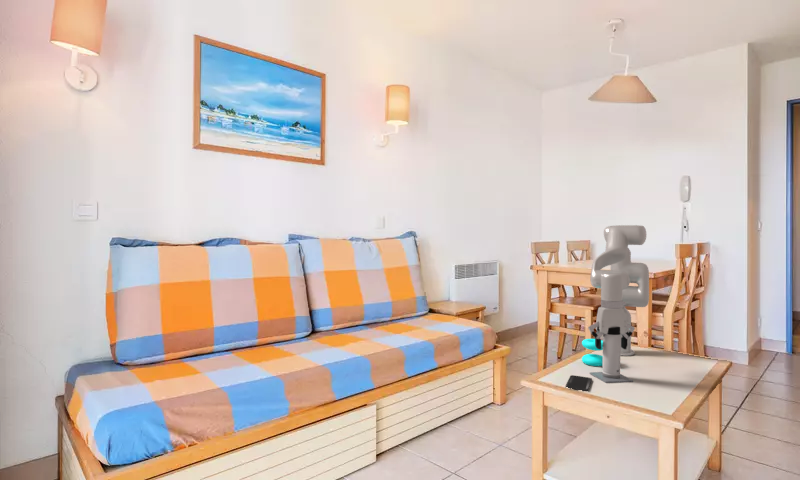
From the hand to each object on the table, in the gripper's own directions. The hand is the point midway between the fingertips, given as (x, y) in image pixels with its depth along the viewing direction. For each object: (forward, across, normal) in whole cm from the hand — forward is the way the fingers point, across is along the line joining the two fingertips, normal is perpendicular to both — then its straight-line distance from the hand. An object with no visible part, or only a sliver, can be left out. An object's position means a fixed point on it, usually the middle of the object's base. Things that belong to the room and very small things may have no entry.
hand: (611, 348), depth 177 cm
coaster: (+11, 0, +1) cm, 11 cm away
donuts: (+12, -1, -18) cm, 22 cm away
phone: (+12, +15, +9) cm, 21 cm away
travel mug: (+11, 0, 0) cm, 11 cm away
